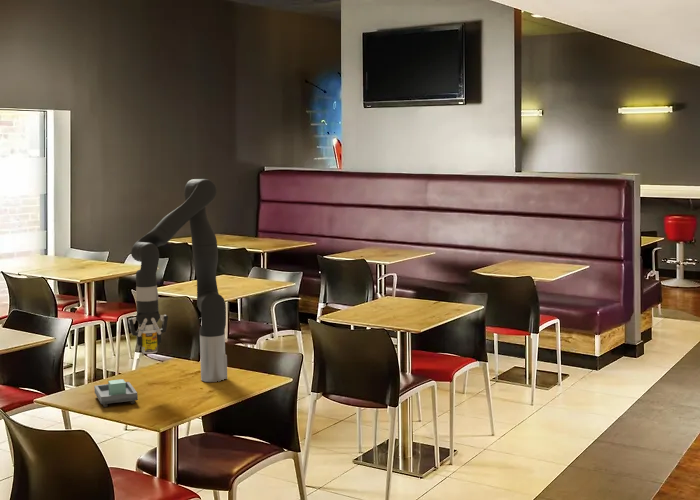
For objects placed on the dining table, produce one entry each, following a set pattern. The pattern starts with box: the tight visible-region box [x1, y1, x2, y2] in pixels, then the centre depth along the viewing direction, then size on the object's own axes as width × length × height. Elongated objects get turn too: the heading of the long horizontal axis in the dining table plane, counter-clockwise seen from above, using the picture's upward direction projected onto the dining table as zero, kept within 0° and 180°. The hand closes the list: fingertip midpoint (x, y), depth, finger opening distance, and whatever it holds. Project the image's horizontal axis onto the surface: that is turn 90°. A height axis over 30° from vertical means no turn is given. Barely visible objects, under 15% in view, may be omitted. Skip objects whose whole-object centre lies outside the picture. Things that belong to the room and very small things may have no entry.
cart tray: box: [93, 381, 139, 408], centre depth 305 cm, size 12×16×4 cm
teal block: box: [107, 378, 127, 395], centre depth 301 cm, size 5×5×5 cm
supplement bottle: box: [140, 324, 159, 355], centre depth 312 cm, size 6×6×10 cm
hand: (149, 345), depth 313 cm, fingers closed on supplement bottle, 5 cm apart
